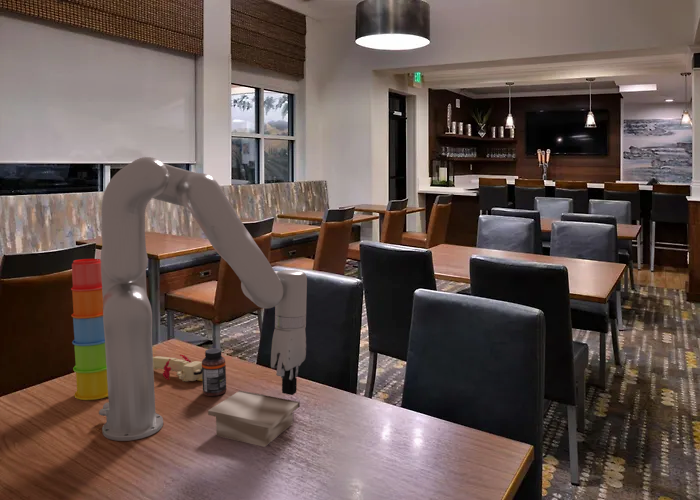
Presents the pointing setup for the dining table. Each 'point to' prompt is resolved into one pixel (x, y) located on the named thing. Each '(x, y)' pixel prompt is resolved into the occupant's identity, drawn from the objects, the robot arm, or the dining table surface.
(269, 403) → the beige wooden box
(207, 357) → the supplement bottle
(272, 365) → the robot arm
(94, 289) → the stacking cups
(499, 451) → the dining table surface
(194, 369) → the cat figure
